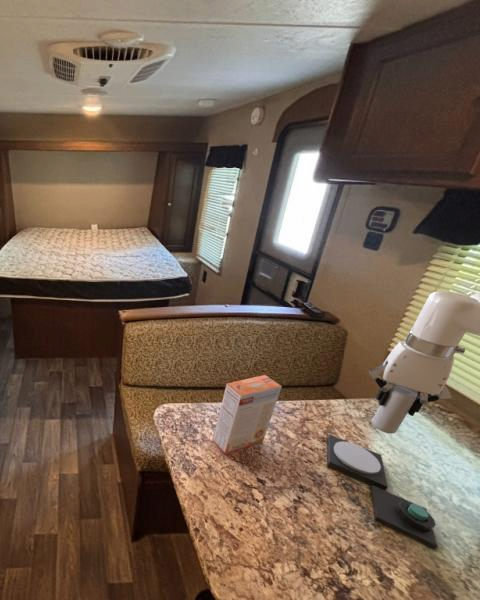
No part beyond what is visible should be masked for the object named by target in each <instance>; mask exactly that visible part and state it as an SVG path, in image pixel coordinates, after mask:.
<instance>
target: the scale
mask: <svg viewBox="0 0 480 600" xmlns="http://www.w3.org/2000/svg"><path fill="white" fill-rule="evenodd" d="M383 461H384V460H383V457H382V454H380V453H378V452H375V451H372V450H370V449H368V448H365V447H362V446H360V445H358V444H356V443H354V442H353V443H352V442H350V441H347V440H345V439H342V438H340V437H337V436H334V435H332V434H328V436H327V438H326V467H327V468H329V469H330V470H331V469H332V470H334V471H336V472H338V473H341V474H343V475H345V476H347V477H349V478H352V479H354V480H357V481H358V482H361V483H362V484H365V485H368V486H370V487H371V486H372V485H373V486H376V487H378V488H380V489H382V490H385V491H387V489H388V488H389V486H388V482H387V477H386V471H385V467H384V462H383Z"/></svg>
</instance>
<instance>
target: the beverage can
mask: <svg viewBox="0 0 480 600" xmlns="http://www.w3.org/2000/svg"><path fill="white" fill-rule="evenodd" d="M417 394H418V393H416V391H415V390H413V389H410V388H406V387H403V386H400V385H396V384H395V385H394V386H393V387H392V388H391V389H390V390H389V396H388V398H387V400H386V401H385V403H384V405H383V406H381V405H379V407H378V409H377V411H376V412H375V414H374V416H373V417H372V420H371V423H372V425H373V426H374V428H375V429H377V430H379V431H380V432H382V433H385V434H390V435H391V434H396V433H397V432H398V430H399V428H400V427H401V425H402V423H403V422H404V420H405V418H406V416H407V415H408V412H409V410H410V408H411V407H412V405H413V403H414V402H415V400H416V397H417Z"/></svg>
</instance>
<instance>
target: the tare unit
mask: <svg viewBox="0 0 480 600" xmlns="http://www.w3.org/2000/svg"><path fill="white" fill-rule="evenodd" d="M369 492H370V498H371V506H372V511H373V518H374V521H375V522H376V523H379V524H380V525H383V526H384V527H386V528H389V529H391V530H393V531H395V532H397V533H400V534H401V535H403V536H404V537H405V536H406V537H407V538H410V539H412V540H413V541H416V542H418V543H420V544H423V545H424V546H427V547H428V548H430V549H433V550H436V549H437V547H438V541H437V539H436V536H435V533H434V528H435V527H436V525H437V524H436V520H435V518H434V517H433V516H432V515H431V514H430V513H429V512H428V510H427V508H426V507H423V506H421V505H419V506H420V507H422V508H423V509H425V510H426V511H427V513H428V517H427V519H426V520H425V521H419V520H417V519H415V518H414V517H413V516H411V515H410V514H409V513H408V510H407V509H408V508H409V506H410V505H411V504H416V505H418V504H417V503H414V502H412V501H410V500H407V499H405V498H403V497H401V496H398V495H396V494H394V493H392V492H390V491H387V490H386V491H385V490H382V489H380V488H378V487H376V486H373V485H372V486H370V488H369Z"/></svg>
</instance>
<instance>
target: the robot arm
mask: <svg viewBox="0 0 480 600" xmlns="http://www.w3.org/2000/svg"><path fill="white" fill-rule="evenodd" d="M466 333H469V334H472V335H474V336H478V337H480V292H478V293H474V294H471V295H470V296H469V295H466V294H462V293H459V292H454V291H445V290H437V291H434V292H432V293H431V294H429V296H428V297H427V299H426V300H425V302H424V305H423V307H422V308H421V310H420V312H419V314H418V316H417V318H416V320H415V322H414V324H413V325H412V327H411V329H410V331H409V334H407V337H406V339H405V341H404V340H401V341H398V343H396V345H395V346H394V347H393V348H392V350H391V351H390V353H389V354H388V355H387V357H386V359H385V360H384V361H383V363H382V365H380V366H377V367H374V368H372V369H369V370H368V375H369V376H370V377H371V378H372V379H373V380H374V381H375V383H376V385H378V387H379V389H378V392H377V393H376V395H375V399H376V400H377V402H378V405H379V406H380V405H381V406H383V405H384V403H385V401H386V400H387V398H388V396H389V390H390V389H391V388H392V387H393V386H394V385H400V386H403V387H406V388H409V389H411V390H412V391H415V392H417V393H416V394H417V397H416V400H415V402H414V403H413V405H412V407H411V408H410V410H409V412H408V413H407V415H409V416H411V417H413V416H414V415H415V414H417V413H419V412H420V410H421V409H422V407H423V405H426V404H428V403H431V402H436V401H440V400H450V399H452V398H453V396H452V394H451V393H450V391H449V388H448V387H447V386H446V384H447V383H448V380H449V377H450V375H451V372H452V369H453V365H454V362H455V357H454V355H455V354H461V355H463V354H464V353H465V352H466V348H465V347H461V346H460V345H459V344H460V343H461V340H462V339H463V338H464V336H465V335H466ZM381 374H382V376H380V375H381Z"/></svg>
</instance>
